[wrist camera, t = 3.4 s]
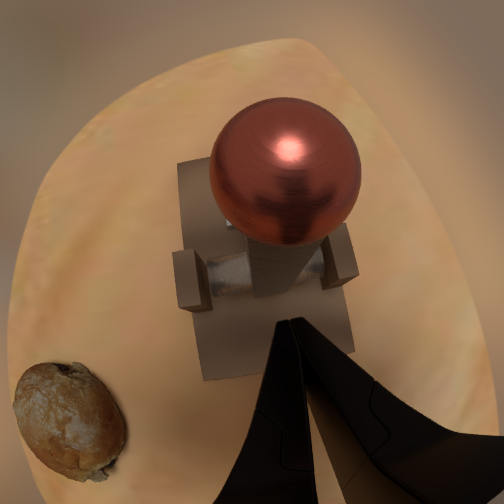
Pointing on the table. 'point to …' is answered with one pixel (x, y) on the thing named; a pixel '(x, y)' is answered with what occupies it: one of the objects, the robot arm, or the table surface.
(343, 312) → the base
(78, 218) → the table surface
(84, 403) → the bread roll
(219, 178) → the lever
